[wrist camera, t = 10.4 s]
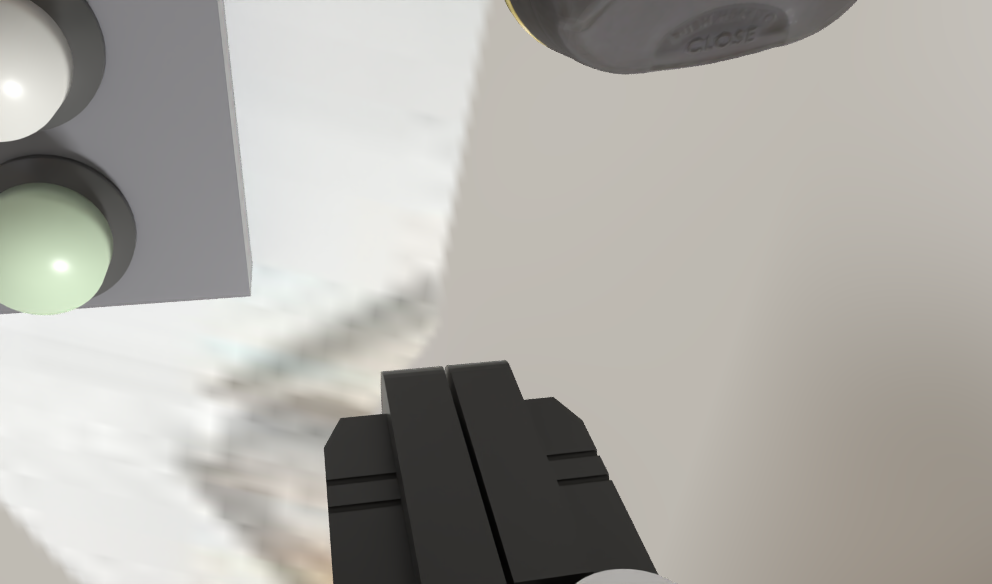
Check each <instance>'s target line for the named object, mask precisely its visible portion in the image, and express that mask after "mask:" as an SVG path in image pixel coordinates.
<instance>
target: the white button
mask: <svg viewBox="0 0 992 584" xmlns="http://www.w3.org/2000/svg"><path fill="white" fill-rule="evenodd" d="M72 79H73V59H72V54H71V50H70V47H69V45H68V42H67V40H66V38H65V36H64V34H63V32H62V31H61V29H60V28H59V26H58V25H57V24H56V22H55V21H54V20H53V19H52V18H51V17H50V16H49V15H48V14H47V13H46V12H45V11H44V10H43V9H42V8H41V7H39V6H38V5H36V4H35V3H33V2H32V1H30V0H0V142H6V141H13V140H18V139H21V138H24V137H27V136H29V135H31V134H33V133H35V132H37V131H38V130H39V129H41V128H42V127H44V126H45V125H46V124H47V123H48V122H49V121H50V119H51V118H52V117H53V115H54V114H55V113H56V111H57V110H58V109H59V107H60V106H61V104H62V103H63V102H64V100H65V99H66V97H67V95H68V93H69V90H70V87H71V84H72Z"/></svg>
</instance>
